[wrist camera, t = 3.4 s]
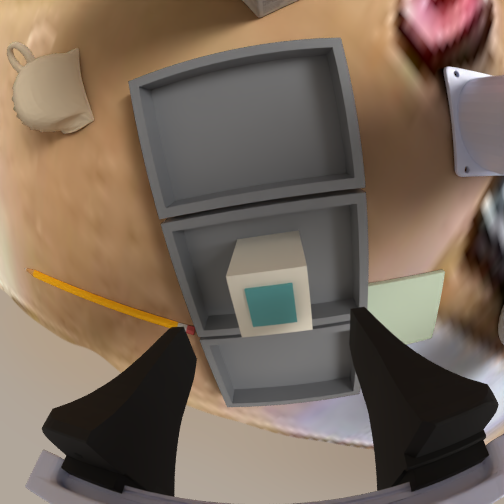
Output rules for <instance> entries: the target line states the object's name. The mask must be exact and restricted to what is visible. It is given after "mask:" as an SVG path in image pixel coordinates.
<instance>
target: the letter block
mask: <svg viewBox="0 0 504 504" xmlns="http://www.w3.org/2000/svg"><path fill="white" fill-rule="evenodd" d="M226 279H227V283H228V287H229V291H230V295H231V299H232V302H233V306H234V310H235V314H236V318H237V321H238V325H239V329H240V332H241V336H242V337H252V336H263V335H273V334H282V333H290V332H298V331H306V330H313V326H312V314H311V303H310V292H309V282H308V272H307V264H306V260H305V256H304V251H303V247H302V243H301V239H300V234H299V231H292V232H285V233H278V234H271V235H264V236H257V237H250V238H243V239H237V242H236V246H235V249H234V252H233V255H232V258H231V262H230V265H229V268H228V271H227V274H226Z"/></svg>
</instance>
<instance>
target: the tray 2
mask: <svg viewBox="0 0 504 504" xmlns="http://www.w3.org/2000/svg"><path fill="white" fill-rule="evenodd" d="M161 227H162V230H163V234H164V237H165V241H166V244H167V247H168V250H169V254H170V257H171V260H172V263H173V266H174V269H175V272H176V276H177V279H178V282H179V285H180V288H181V290H182V293H183V296H184V299H185V302H186V305H187V308H188V310H189V313H190V316H191V319H192V321H193V324H194V327H195V330H196V332H197V335H198V337H210V336H224V335H237V334H241V332H240V329H239V325H238V321H237V318H236V314H235V310H234V306H233V302H232V299H231V295H230V291H229V287H228V283H227V279H226V274H227V271H228V268H229V265H230V262H231V258H232V255H233V252H234V249H235V246H236V242H237V239H243V238H250V237H257V236H264V235H271V234H278V233H285V232H292V231H299V234H300V239H301V243H302V247H303V251H304V256H305V260H306V264H307V272H308V282H309V292H310V303H311V314H312V326H317V325H324V324H331V323H337V322H343V321H350V309H353V308H359V307H365V308H366V309H367V306H368V219H367V201H366V192H365V191H363V190H362V189H360V188H355V189H346V190H338V191H330V192H322V193H314V194H307V195H299V196H292V197H285V198H278V199H272V200H265V201H259V202H253V203H246V204H240V205H234V206H229V207H223V208H217V209H211V210H206V211H200V212H195V213H190V214H185V215H179V216H174V217H169V218H167V219H166V220H165V221H164V222H162V223H161Z"/></svg>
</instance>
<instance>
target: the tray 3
mask: <svg viewBox="0 0 504 504" xmlns="http://www.w3.org/2000/svg"><path fill="white" fill-rule="evenodd" d="M349 338H350V321H343V322H337V323H331V324H324V325H317V326H313V330H306V331H298V332H290V333H282V334H273V335H263V336H252V337H242V336H241V334H237V335H224V336H210V337H200V343H201V345H202V348H203V350H204V353H205V355H206V358H207V360H208V363H209V365H210V368H211V370H212V373H213V375H214V377H215V380H216V382H217V384H218V387H219V389H220V391H221V394H222V396H223V398H224V401H225V403H226V405H227V407H251V406H269V405H282V404H293V403H302V402H311V401H319V400H326V399H332V398H339V397H345V396H350V395H356V394H359V393H360V383H359V380H358V377H357V374H356V371H355V368H354V365H353V361H352V356H351V351H350V346H349Z"/></svg>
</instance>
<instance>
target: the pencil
mask: <svg viewBox="0 0 504 504" xmlns="http://www.w3.org/2000/svg"><path fill="white" fill-rule="evenodd" d="M25 269H26V271H28V272H29V273H30V274H31V275H32V276H33V277H35V278H38V279H40V280H42V281H44V282H46V283H49V284H51V285H53V286H55V287H58V288H60V289H62V290H65V291H67V292H70V293H72V294H74V295H77V296H79V297H82V298H84V299H87V300H90V301H92V302H95V303H97V304H100V305H103V306H105V307H108V308H111V309H113V310H116V311H119V312H122V313H125V314H128V315H131V316H133V317H136V318H139V319H142V320H145V321H149V322H152V323H155V324H158V325H161V326H164V327H168V328H171V327H183V326H184V328H185V331H186V333H188V334H192V335H194V333H195V327H193V326H190V325H186V324H183V323H179V322H176V321H172V320H169V319H166V318H162V317H159V316H156V315H153V314H150V313H147V312H144V311H140V310H137V309H134V308H131V307H128V306H126V305H123V304H120V303H117V302H114V301H111V300H108V299H106V298H103V297H100V296H98V295H95V294H92V293H90V292H87V291H84V290H82V289H79V288H77V287H74V286H72V285H69V284H67V283H64V282H62V281H59V280H57V279H55V278H52V277H50V276H48V275H45V274H43V273H41V272H38V271H36V270H33V269H27V268H25Z"/></svg>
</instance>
